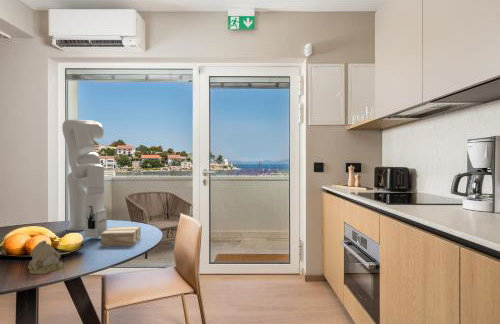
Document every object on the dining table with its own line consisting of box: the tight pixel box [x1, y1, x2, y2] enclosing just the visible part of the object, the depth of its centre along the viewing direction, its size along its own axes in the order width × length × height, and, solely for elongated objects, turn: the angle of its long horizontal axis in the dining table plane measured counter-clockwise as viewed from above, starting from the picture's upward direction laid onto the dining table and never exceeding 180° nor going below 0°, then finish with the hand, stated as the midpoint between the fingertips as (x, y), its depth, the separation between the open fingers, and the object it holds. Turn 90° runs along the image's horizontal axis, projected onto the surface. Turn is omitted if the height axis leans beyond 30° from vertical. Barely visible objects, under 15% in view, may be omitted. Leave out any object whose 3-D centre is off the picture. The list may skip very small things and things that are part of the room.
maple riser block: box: [100, 226, 141, 247], centre depth 165 cm, size 14×14×6 cm
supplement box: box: [83, 208, 108, 239], centre depth 170 cm, size 7×7×13 cm
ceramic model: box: [27, 240, 64, 275], centre depth 127 cm, size 14×11×10 cm
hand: (95, 226), depth 170 cm, fingers closed on supplement box, 8 cm apart
